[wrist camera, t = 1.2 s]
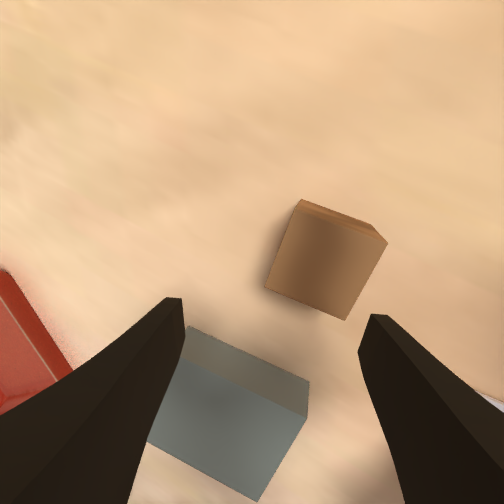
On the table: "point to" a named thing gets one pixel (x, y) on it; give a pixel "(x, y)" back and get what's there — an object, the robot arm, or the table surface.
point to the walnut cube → (325, 259)
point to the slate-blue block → (229, 414)
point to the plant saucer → (24, 349)
